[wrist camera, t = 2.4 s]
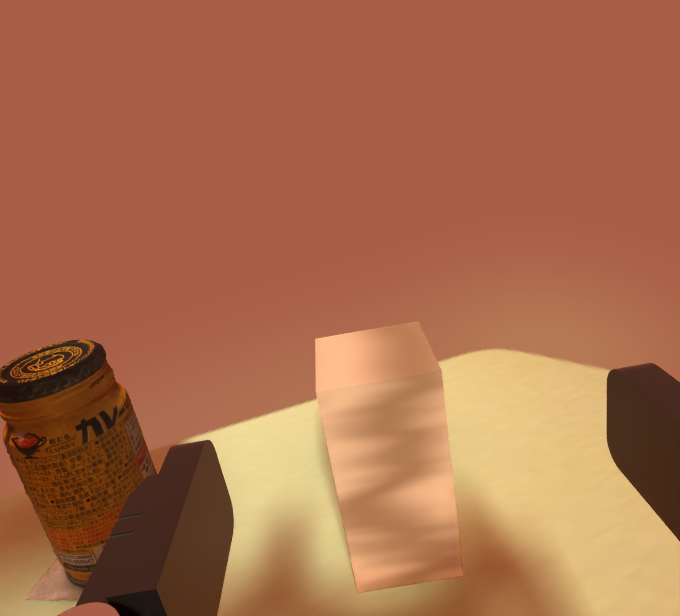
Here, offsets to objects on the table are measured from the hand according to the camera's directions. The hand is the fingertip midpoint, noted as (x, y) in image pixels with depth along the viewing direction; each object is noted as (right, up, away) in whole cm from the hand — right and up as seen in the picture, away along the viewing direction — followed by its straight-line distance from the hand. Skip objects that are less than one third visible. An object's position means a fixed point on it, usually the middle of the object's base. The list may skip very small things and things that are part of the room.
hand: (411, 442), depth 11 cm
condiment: (-13, -11, +20) cm, 26 cm away
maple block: (+2, -9, +17) cm, 19 cm away
